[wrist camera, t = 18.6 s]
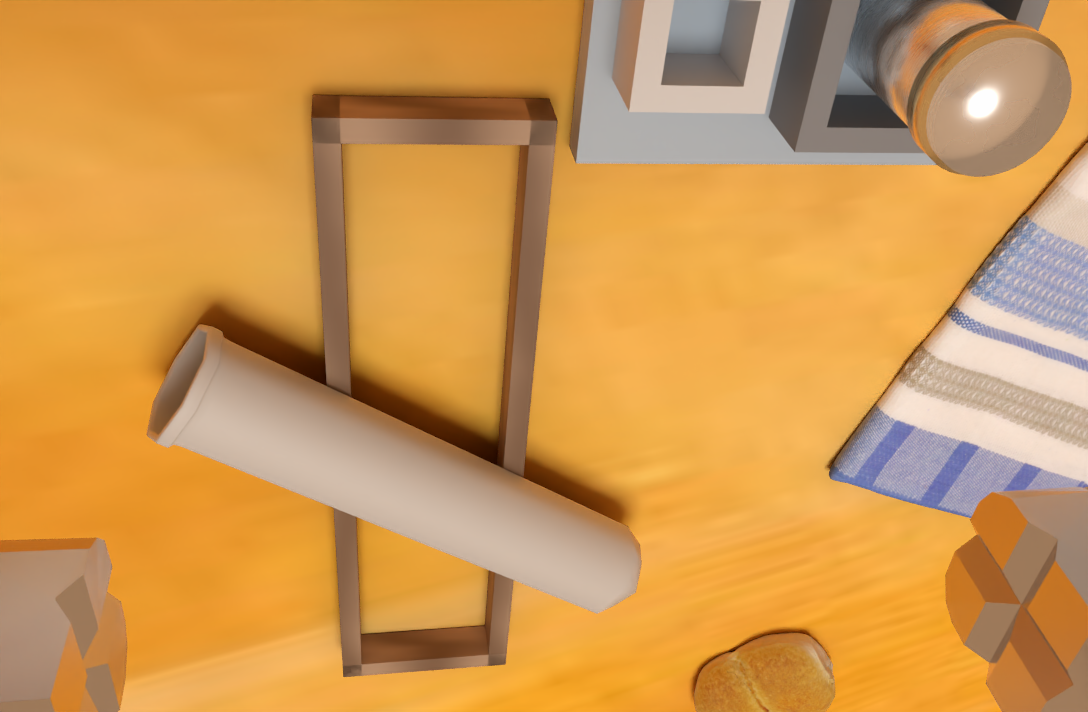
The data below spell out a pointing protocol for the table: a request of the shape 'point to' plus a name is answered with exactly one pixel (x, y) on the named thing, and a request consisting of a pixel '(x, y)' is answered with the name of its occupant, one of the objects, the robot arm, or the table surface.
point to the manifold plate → (735, 84)
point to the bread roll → (768, 677)
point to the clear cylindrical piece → (962, 80)
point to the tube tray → (536, 137)
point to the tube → (387, 472)
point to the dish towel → (994, 374)
